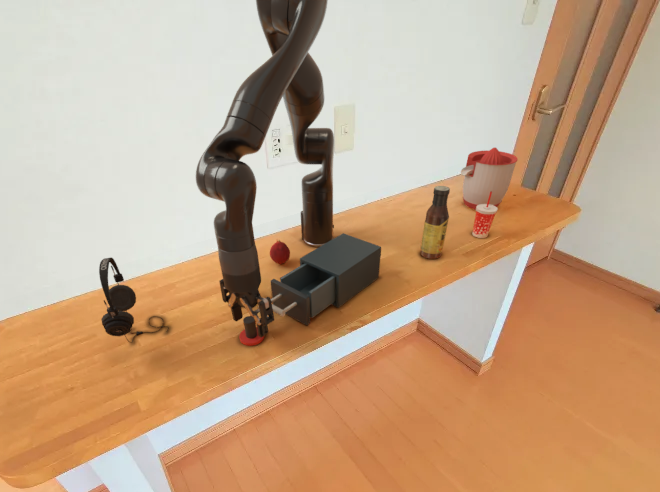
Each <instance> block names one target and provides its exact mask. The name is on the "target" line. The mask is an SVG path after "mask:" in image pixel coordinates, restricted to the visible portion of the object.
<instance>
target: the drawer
mask: <svg viewBox="0 0 660 492" xmlns="http://www.w3.org/2000/svg"><path fill="white" fill-rule="evenodd" d="M269 282H270V290H271V291H270V292H271V297H272V298H271V302H272V308H273V313H274V314H277V315H278V316H280V317H285V315H287V316H289V317H291V318H292V319H295V320H296V321H298V322H300V323H301V324H303V325H305V326H310V324H311V319H313V318H315V317H316V316H317V315H319V314H321V312H323V311H324V310H326V309H327V308H328V307H330V306H331V305H332V303H334V302H335V301H336V277H335V276H333V275H331V274H328V273H326V272H324V271H322V270H319V269H317V268H315V267H313V266H310V265H308V264H306V263H304V264H303V265H301V266H300V265H299V266H297V267H295V268H294V269H292V270H290V271H289V272H287V273H285V274H284V275H282V276H281V277H280V278H279V280H278V279H276V278H272V279H270V281H269Z"/></svg>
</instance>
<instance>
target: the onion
mask: <svg viewBox="0 0 660 492" xmlns="http://www.w3.org/2000/svg"><path fill="white" fill-rule="evenodd" d="M290 257H291V250H290V248H289V246H288V245H287V244H286V243H285V242H283V241H281V240H280V239H279V238H277V239H276V242H274V243H273V244H272V245H271V247H270V249H269V258H270V259H271V260H272V261H273V262H274V263H276V264H278V265H283V264H285V263H286V262H287V261H289V259H290Z"/></svg>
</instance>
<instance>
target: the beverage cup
mask: <svg viewBox="0 0 660 492" xmlns="http://www.w3.org/2000/svg"><path fill="white" fill-rule="evenodd" d="M491 194H492V191H490V195H489V199H488V202H487V204H479V205H477V206H476V210H475V215H474V221H473V226H472V227H473V228H472V233H471V234H472V236H473V237H475V238H479V239H485V238H487V237H488V236H489V233H490V230H491V227H492V225H493V221H494V219H495V216H496V213H498V210H499V208H498V207H496V206H493V205H490V204H489V201H490V198H491Z"/></svg>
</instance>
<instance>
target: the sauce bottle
mask: <svg viewBox="0 0 660 492" xmlns="http://www.w3.org/2000/svg"><path fill="white" fill-rule="evenodd" d="M450 189H451V188H450V187H449V186H446V185H437V186H436V185H435V186H434V188H433V198H432V201H431V202H432V203H431V205H430V206H429V208H428V209H427V211H426V212H425V219H424V223H423V224H424V225H423V230H422V236H421V242H420V243H421V244H420V255H421V256H422V257H423V258H425V259H430V260H435V259H438V258H440V257H441V256H442V253H443V250H444V244H445V239H446V236H447V235H446V234H447V230H448V225H449V224H448V223H449V220H450V214H449V210H448V199H449V194H450V193H451V192H450V191H451V190H450Z"/></svg>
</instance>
